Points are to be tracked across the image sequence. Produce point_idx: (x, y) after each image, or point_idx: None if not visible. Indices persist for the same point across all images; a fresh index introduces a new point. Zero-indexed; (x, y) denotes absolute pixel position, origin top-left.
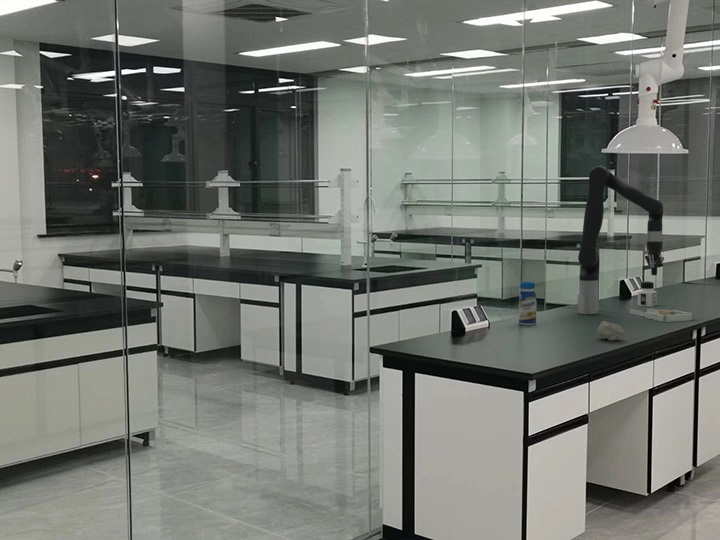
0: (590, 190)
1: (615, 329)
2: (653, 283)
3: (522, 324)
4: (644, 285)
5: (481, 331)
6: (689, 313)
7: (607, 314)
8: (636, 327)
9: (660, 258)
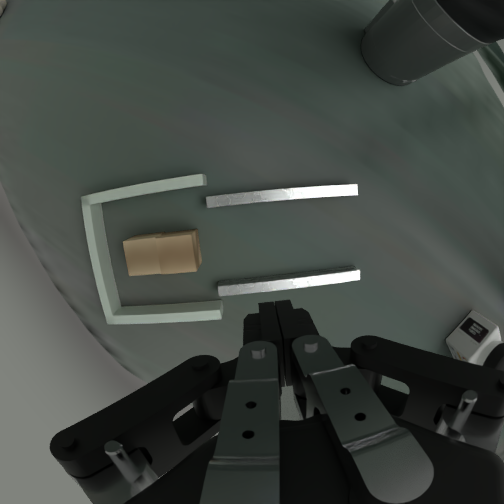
0: None
1: None
2: None
3: None
4: (499, 353)
5: None
6: (117, 315)
7: (354, 93)
8: (46, 75)
9: (58, 447)
